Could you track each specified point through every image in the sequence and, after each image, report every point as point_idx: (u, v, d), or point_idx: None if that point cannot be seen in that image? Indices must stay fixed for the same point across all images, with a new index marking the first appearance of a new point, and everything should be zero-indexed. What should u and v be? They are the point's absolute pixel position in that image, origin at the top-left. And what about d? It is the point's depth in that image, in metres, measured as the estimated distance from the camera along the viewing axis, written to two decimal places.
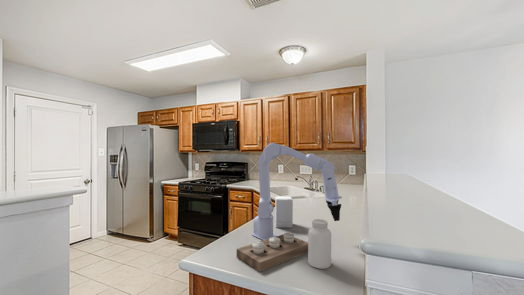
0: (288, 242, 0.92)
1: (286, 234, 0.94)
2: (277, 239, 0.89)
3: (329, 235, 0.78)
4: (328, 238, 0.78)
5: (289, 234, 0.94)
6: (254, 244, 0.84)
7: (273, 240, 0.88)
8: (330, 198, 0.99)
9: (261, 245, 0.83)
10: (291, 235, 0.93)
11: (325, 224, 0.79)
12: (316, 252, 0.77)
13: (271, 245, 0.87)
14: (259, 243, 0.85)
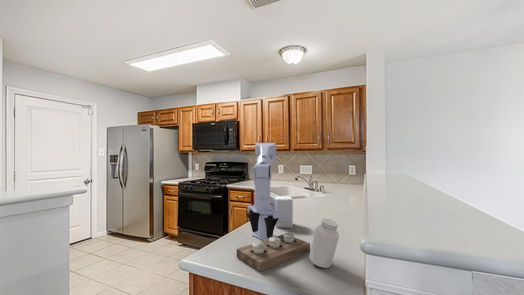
0: (288, 242, 0.92)
1: (286, 234, 0.94)
2: (277, 239, 0.89)
3: (336, 238, 0.76)
4: (334, 240, 0.76)
5: (289, 234, 0.94)
6: (254, 244, 0.84)
7: (273, 240, 0.88)
8: None
9: (261, 245, 0.83)
10: (291, 235, 0.93)
11: (335, 227, 0.76)
12: (319, 251, 0.77)
13: (271, 245, 0.87)
14: (259, 243, 0.85)
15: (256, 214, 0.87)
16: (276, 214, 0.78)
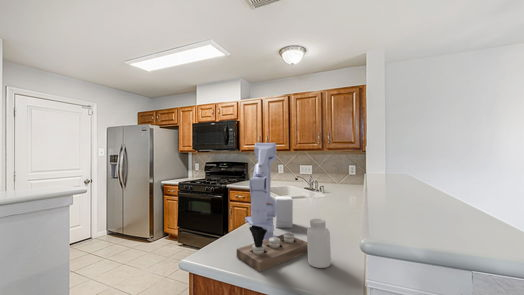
0: (288, 242, 0.92)
1: (286, 234, 0.94)
2: (277, 239, 0.89)
3: (326, 234, 0.78)
4: (325, 237, 0.77)
5: (289, 234, 0.94)
6: (254, 246, 0.84)
7: (273, 240, 0.88)
8: None
9: (261, 247, 0.83)
10: (291, 235, 0.93)
11: (322, 223, 0.79)
12: (313, 251, 0.78)
13: (271, 245, 0.87)
14: None
15: None
16: (271, 228, 0.78)
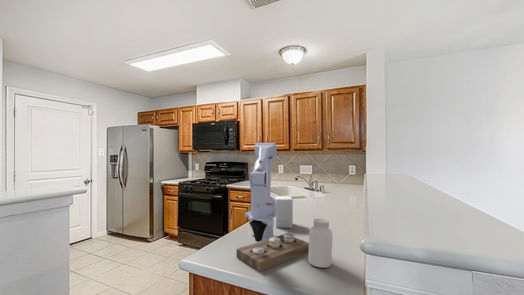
0: (288, 242, 0.92)
1: (286, 234, 0.94)
2: (277, 239, 0.89)
3: (329, 234, 0.78)
4: (327, 237, 0.78)
5: (289, 234, 0.94)
6: (254, 250, 0.84)
7: (273, 240, 0.88)
8: None
9: (261, 251, 0.83)
10: (291, 235, 0.93)
11: (325, 223, 0.79)
12: (315, 250, 0.78)
13: (271, 245, 0.87)
14: (259, 248, 0.85)
15: None
16: (271, 222, 0.78)
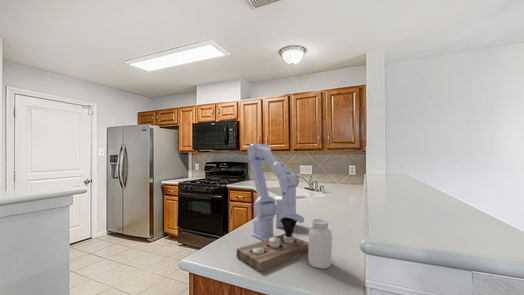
0: (288, 243, 0.92)
1: None
2: (277, 239, 0.89)
3: (328, 236, 0.77)
4: (326, 239, 0.77)
5: None
6: (254, 250, 0.84)
7: (273, 240, 0.88)
8: None
9: (261, 251, 0.83)
10: (291, 236, 0.93)
11: (324, 225, 0.78)
12: (314, 251, 0.78)
13: (271, 245, 0.87)
14: (259, 248, 0.85)
15: None
16: (302, 219, 0.88)
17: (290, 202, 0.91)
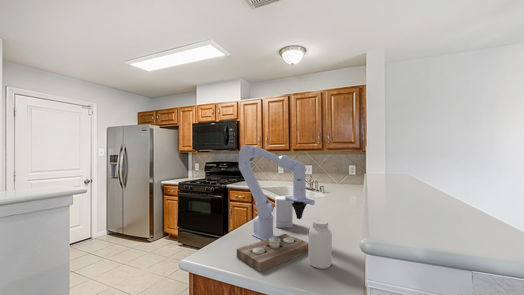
0: None
1: (286, 239, 0.94)
2: (277, 239, 0.89)
3: (328, 236, 0.77)
4: (326, 238, 0.77)
5: (289, 239, 0.94)
6: (254, 250, 0.84)
7: (273, 240, 0.88)
8: None
9: (261, 251, 0.83)
10: (291, 240, 0.93)
11: (324, 224, 0.78)
12: (313, 251, 0.78)
13: (271, 245, 0.87)
14: (259, 248, 0.85)
15: None
16: (313, 202, 0.99)
17: (304, 187, 1.03)
